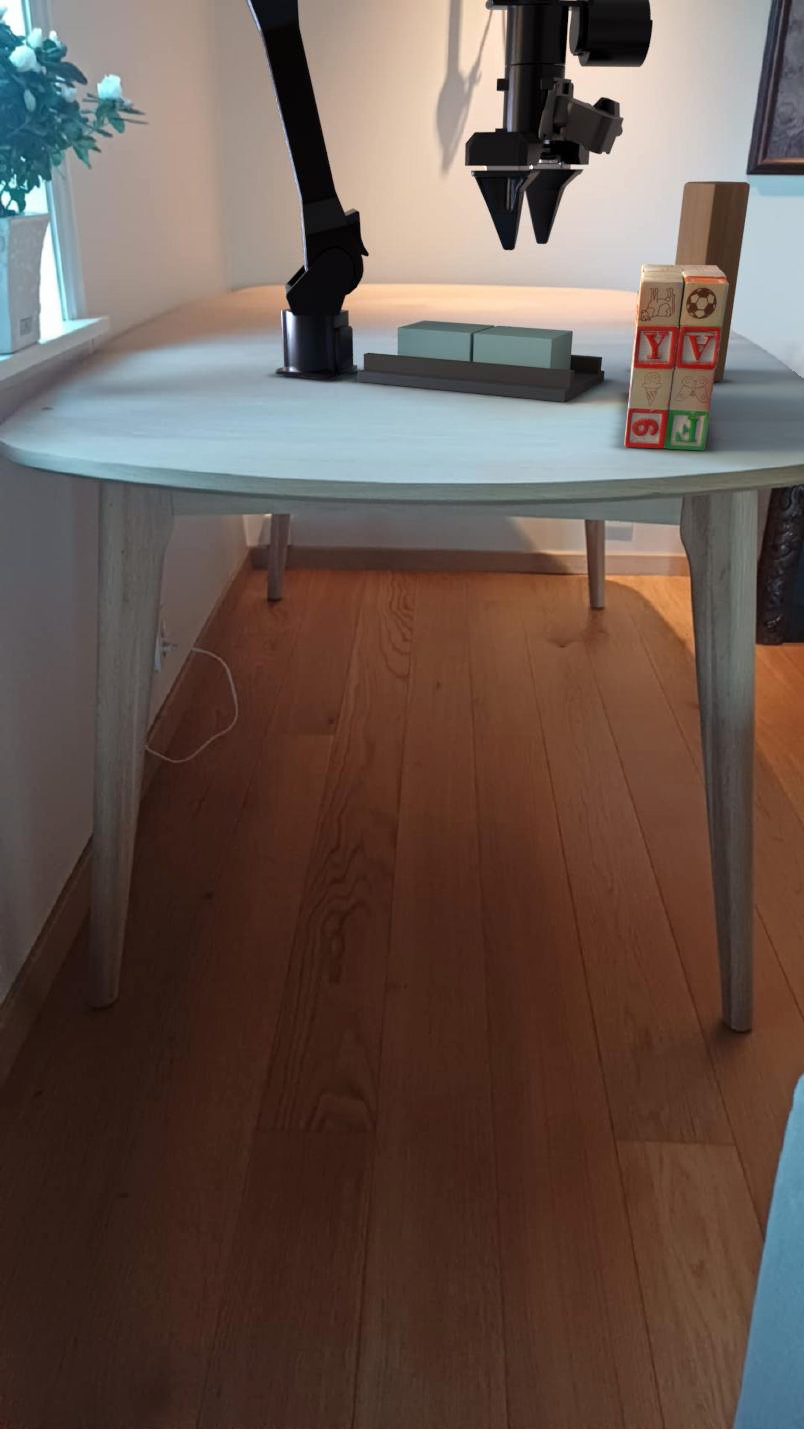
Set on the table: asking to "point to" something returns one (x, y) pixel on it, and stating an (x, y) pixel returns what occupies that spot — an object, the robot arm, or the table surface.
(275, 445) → the table surface
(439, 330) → the pad jig
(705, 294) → the stack of blocks
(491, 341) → the grey-green rectangular block
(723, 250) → the wooden block
